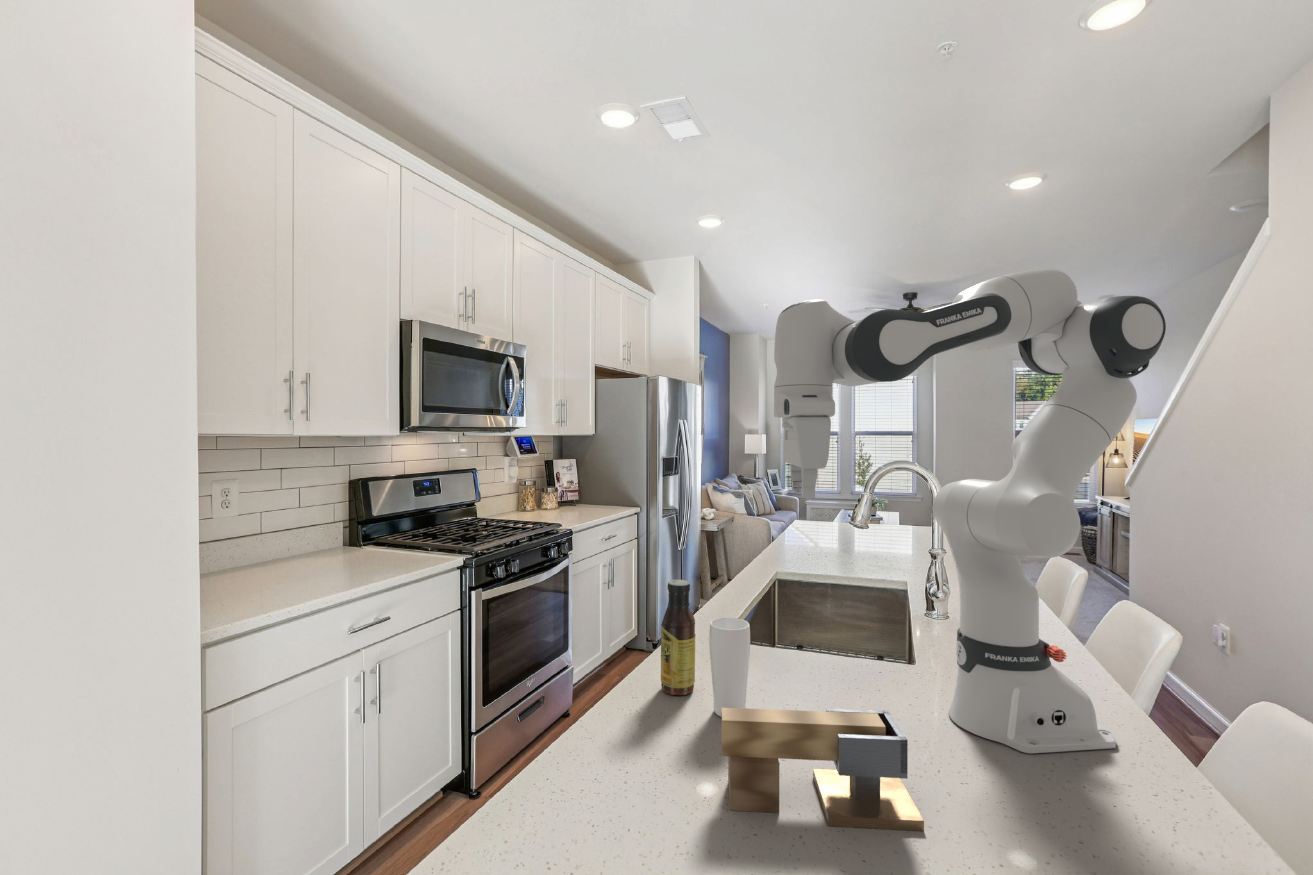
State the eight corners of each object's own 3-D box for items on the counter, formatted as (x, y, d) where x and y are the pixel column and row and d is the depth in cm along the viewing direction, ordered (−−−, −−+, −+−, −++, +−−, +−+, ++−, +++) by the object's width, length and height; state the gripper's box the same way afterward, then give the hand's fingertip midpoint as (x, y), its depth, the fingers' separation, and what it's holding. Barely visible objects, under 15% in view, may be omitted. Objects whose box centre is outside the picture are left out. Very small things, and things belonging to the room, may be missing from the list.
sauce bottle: (659, 683, 111) (659, 577, 111) (692, 682, 112) (692, 576, 112) (662, 699, 105) (662, 586, 104) (697, 697, 105) (697, 585, 105)
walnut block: (773, 784, 79) (773, 739, 79) (779, 812, 73) (779, 764, 73) (728, 781, 80) (728, 737, 79) (730, 810, 74) (730, 761, 74)
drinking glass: (749, 724, 95) (749, 631, 95) (707, 720, 97) (707, 628, 97) (750, 705, 102) (751, 618, 102) (711, 702, 103) (711, 615, 103)
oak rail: (722, 755, 75) (722, 720, 75) (721, 741, 78) (721, 707, 78) (885, 763, 73) (885, 726, 73) (877, 748, 77) (877, 713, 77)
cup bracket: (896, 781, 80) (896, 707, 80) (924, 830, 70) (924, 745, 70) (813, 777, 81) (813, 703, 81) (828, 825, 71) (828, 741, 71)
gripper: (774, 409, 103) (774, 489, 103) (791, 402, 83) (791, 502, 83) (811, 409, 102) (811, 489, 102) (838, 402, 82) (837, 502, 82)
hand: (802, 495), depth 92 cm, fingers open, 8 cm apart
